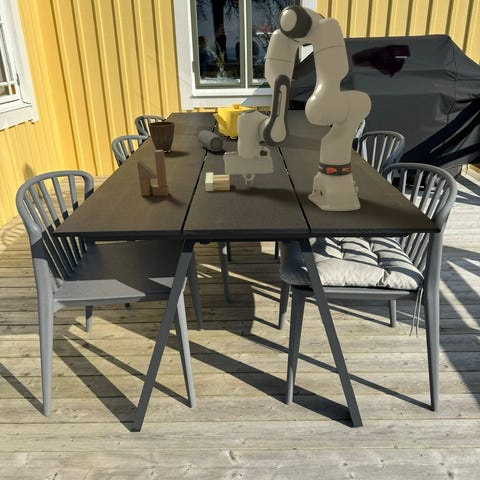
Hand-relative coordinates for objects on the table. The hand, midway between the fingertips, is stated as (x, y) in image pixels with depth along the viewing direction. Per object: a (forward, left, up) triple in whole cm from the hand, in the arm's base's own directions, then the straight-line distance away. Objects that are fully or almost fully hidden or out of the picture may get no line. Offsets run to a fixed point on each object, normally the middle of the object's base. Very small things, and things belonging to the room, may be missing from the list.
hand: (249, 183), depth 181 cm
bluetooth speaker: (+76, +18, -2) cm, 78 cm away
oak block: (+1, +12, -2) cm, 12 cm away
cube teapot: (+110, +2, -2) cm, 110 cm away
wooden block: (-6, +39, -2) cm, 39 cm away
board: (+4, +17, -1) cm, 17 cm away
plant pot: (+74, +45, -2) cm, 87 cm away
